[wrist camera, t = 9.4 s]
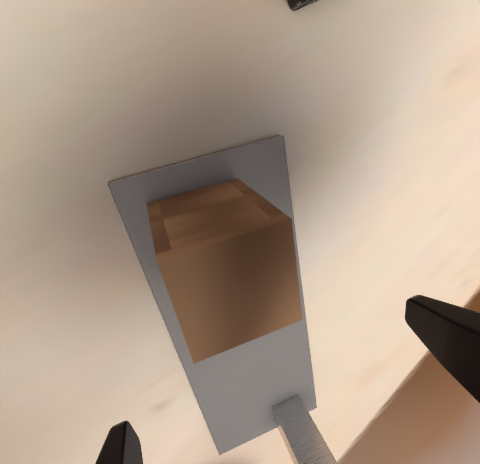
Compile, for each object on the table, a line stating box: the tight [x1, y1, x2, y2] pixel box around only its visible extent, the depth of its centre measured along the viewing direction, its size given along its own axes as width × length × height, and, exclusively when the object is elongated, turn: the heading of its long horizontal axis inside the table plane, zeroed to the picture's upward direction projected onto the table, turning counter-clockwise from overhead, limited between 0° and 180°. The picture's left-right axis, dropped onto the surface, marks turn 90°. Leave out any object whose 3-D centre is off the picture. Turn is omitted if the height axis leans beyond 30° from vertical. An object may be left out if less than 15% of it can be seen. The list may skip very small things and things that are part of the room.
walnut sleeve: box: [146, 178, 303, 364], centre depth 15 cm, size 5×5×7 cm
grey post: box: [272, 394, 338, 464], centre depth 26 cm, size 3×3×7 cm
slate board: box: [108, 135, 317, 455], centre depth 23 cm, size 10×26×1 cm, turn 11°
